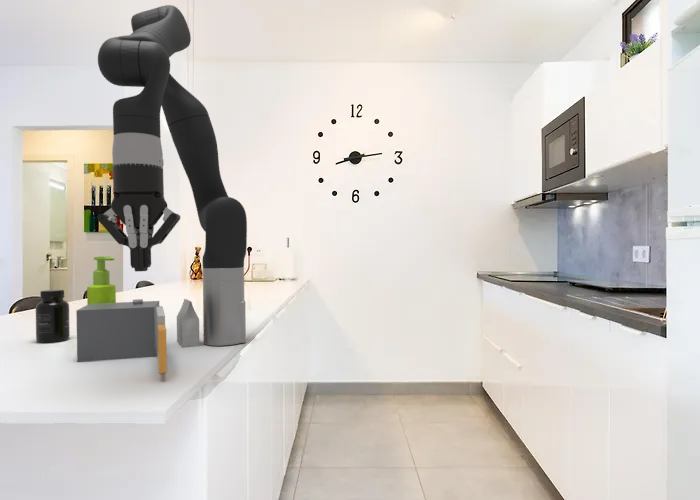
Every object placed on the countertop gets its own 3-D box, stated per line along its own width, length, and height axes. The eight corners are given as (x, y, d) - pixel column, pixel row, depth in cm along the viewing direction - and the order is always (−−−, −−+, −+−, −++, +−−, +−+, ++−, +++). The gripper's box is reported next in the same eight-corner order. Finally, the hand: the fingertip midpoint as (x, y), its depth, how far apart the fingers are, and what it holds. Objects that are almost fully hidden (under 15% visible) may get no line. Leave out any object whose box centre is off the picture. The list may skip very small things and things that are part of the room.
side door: (156, 352, 96) (156, 306, 96) (163, 352, 97) (162, 306, 97) (159, 379, 78) (158, 321, 77) (166, 378, 78) (166, 320, 78)
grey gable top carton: (182, 347, 104) (181, 302, 104) (177, 342, 110) (176, 299, 109) (199, 345, 106) (198, 301, 105) (193, 340, 111) (192, 298, 111)
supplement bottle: (75, 339, 114) (74, 289, 114) (44, 344, 108) (43, 292, 108) (60, 336, 118) (60, 288, 117) (30, 341, 112) (29, 290, 112)
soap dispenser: (99, 345, 106) (98, 257, 106) (82, 342, 110) (81, 256, 110) (124, 341, 111) (122, 256, 111) (107, 338, 115) (106, 256, 115)
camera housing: (160, 343, 108) (159, 296, 108) (154, 356, 96) (154, 303, 96) (92, 348, 104) (91, 299, 104) (77, 361, 92) (76, 306, 92)
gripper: (85, 161, 73) (88, 273, 73) (174, 161, 74) (177, 271, 75) (104, 168, 80) (107, 270, 80) (185, 168, 82) (187, 268, 82)
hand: (141, 270), depth 78 cm, fingers closed
